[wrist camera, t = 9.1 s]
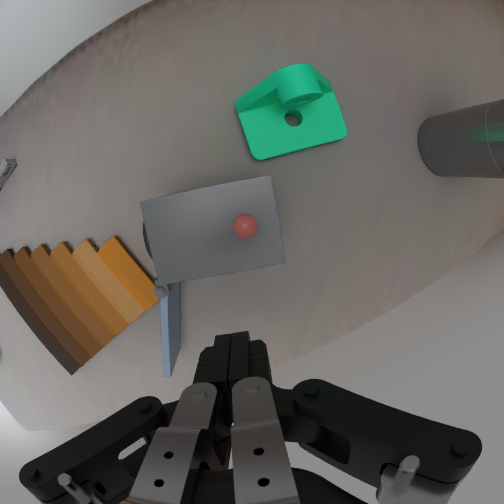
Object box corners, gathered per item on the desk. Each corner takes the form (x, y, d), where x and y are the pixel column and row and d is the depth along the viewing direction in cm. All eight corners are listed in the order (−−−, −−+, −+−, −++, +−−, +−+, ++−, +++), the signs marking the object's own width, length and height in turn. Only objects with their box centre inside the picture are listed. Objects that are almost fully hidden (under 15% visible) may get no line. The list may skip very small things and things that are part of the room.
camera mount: (253, 163, 34) (259, 154, 24) (234, 107, 32) (233, 78, 22) (342, 140, 34) (377, 125, 24) (323, 87, 32) (350, 56, 22)
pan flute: (-6, 260, 35) (76, 368, 40) (-18, 265, 32) (67, 379, 37) (62, 155, 32) (167, 289, 37) (50, 153, 29) (160, 299, 34)
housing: (261, 178, 34) (271, 174, 24) (275, 255, 36) (289, 282, 26) (156, 200, 34) (124, 206, 24) (173, 273, 36) (150, 306, 26)
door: (181, 348, 38) (172, 377, 31) (170, 347, 38) (159, 376, 31) (181, 264, 36) (169, 282, 29) (169, 263, 36) (154, 280, 29)
